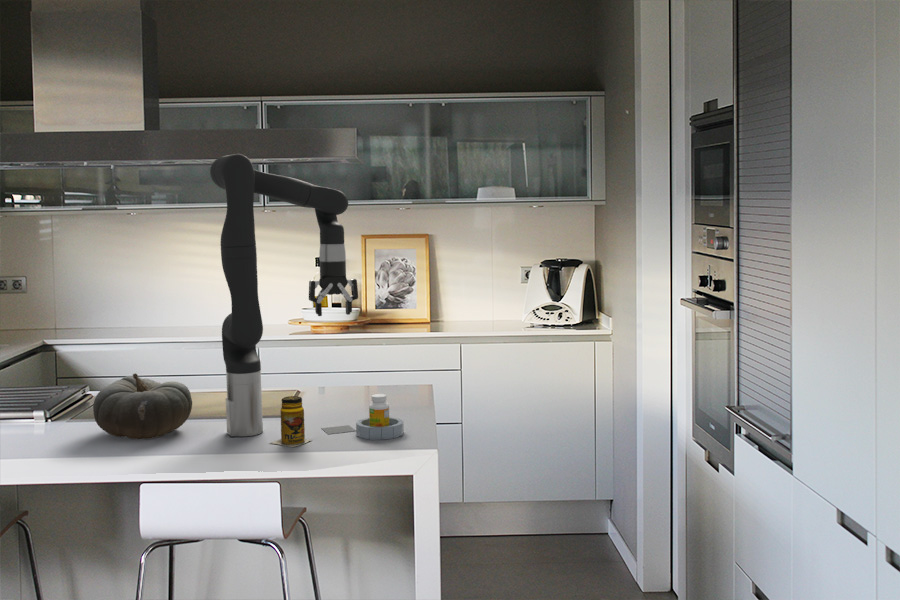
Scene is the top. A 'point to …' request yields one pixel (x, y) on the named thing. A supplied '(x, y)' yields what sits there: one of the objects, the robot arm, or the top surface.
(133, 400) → the gourd
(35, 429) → the top surface
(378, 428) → the bowl
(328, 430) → the mat
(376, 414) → the supplement bottle
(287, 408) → the condiment
